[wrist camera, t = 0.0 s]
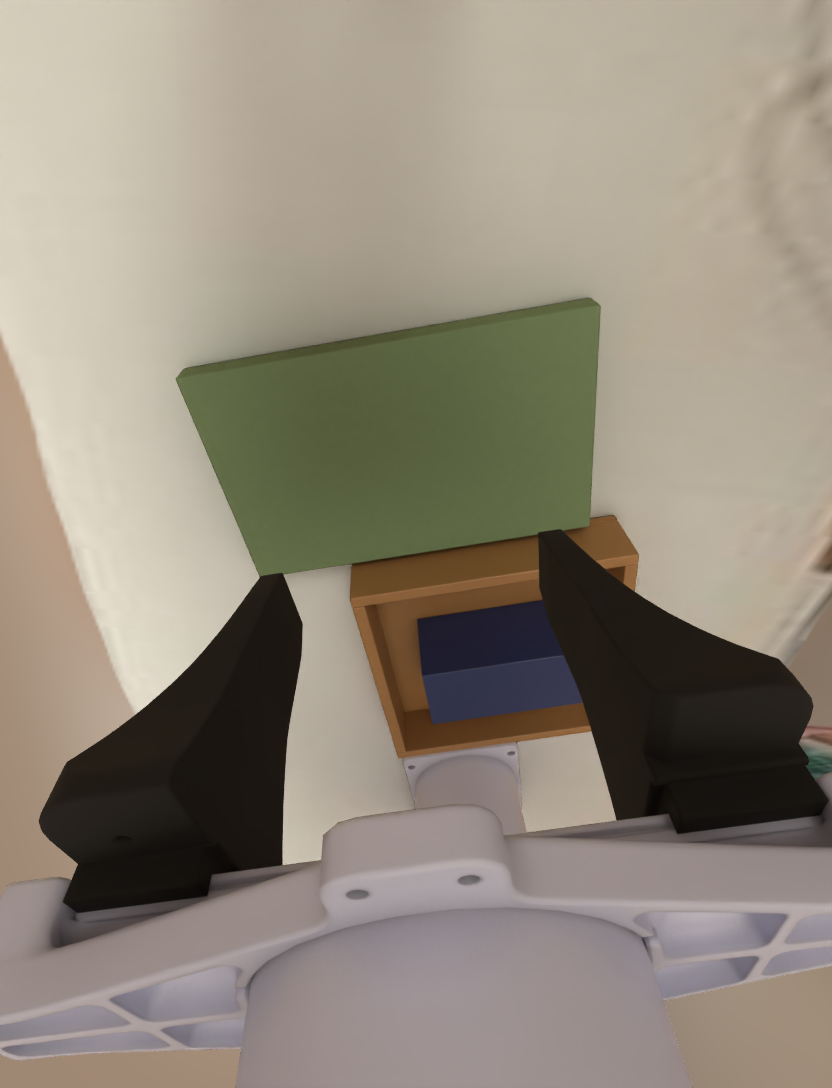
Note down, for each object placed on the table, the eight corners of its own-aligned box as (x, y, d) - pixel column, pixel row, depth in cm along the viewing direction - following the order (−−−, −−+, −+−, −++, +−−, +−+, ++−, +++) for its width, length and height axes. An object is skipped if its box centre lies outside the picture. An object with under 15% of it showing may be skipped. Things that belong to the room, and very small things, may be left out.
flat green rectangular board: (582, 513, 27) (590, 527, 26) (263, 563, 27) (260, 578, 26) (591, 296, 21) (601, 304, 20) (183, 368, 21) (174, 378, 20)
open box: (600, 684, 35) (618, 727, 32) (396, 713, 35) (398, 758, 33) (614, 514, 27) (639, 554, 24) (351, 556, 27) (349, 599, 25)
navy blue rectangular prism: (562, 646, 32) (583, 703, 28) (426, 666, 32) (432, 725, 29) (563, 596, 29) (586, 652, 26) (416, 618, 30) (421, 676, 26)
